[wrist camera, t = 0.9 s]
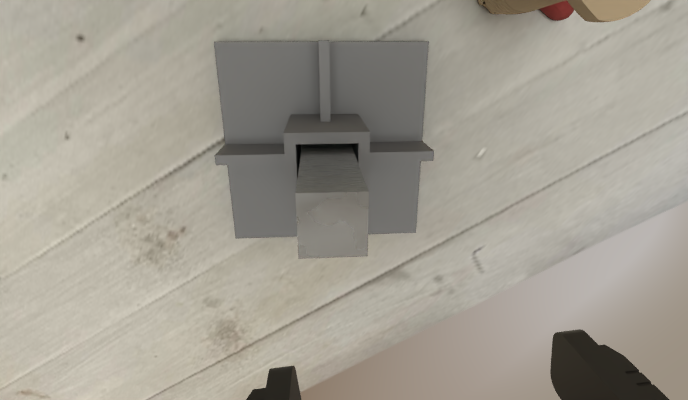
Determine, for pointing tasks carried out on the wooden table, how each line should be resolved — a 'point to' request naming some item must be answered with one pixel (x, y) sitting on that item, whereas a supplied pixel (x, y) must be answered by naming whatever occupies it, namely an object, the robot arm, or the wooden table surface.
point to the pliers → (558, 10)
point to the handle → (590, 3)
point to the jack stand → (321, 125)
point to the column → (331, 203)
